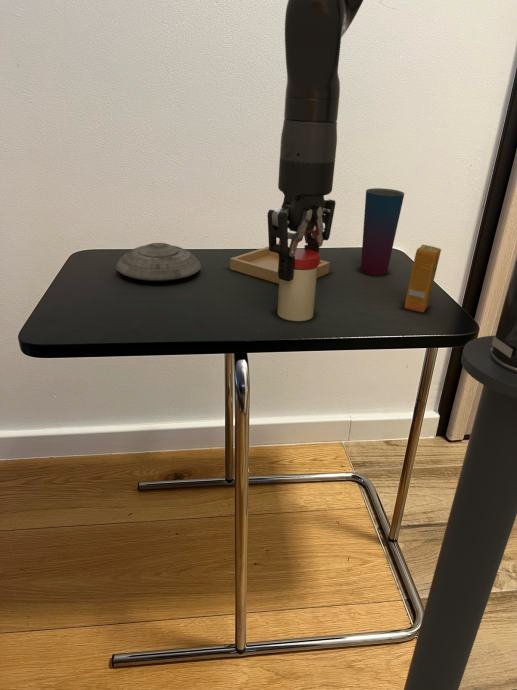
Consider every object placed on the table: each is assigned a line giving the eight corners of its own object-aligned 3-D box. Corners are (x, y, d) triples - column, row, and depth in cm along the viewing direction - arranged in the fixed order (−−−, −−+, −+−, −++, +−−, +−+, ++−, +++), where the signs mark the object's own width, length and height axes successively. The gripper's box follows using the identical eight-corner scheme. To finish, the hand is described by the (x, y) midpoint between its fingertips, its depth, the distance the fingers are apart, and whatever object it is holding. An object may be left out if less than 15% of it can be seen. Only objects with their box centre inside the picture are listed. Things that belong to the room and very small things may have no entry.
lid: (327, 263, 80) (327, 253, 80) (304, 272, 76) (305, 262, 76) (294, 254, 84) (294, 245, 83) (271, 262, 79) (271, 253, 79)
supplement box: (425, 313, 86) (437, 252, 82) (403, 308, 87) (414, 248, 83) (429, 307, 89) (441, 247, 84) (409, 302, 90) (419, 243, 86)
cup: (353, 274, 102) (363, 192, 96) (358, 264, 108) (368, 186, 101) (389, 279, 100) (402, 196, 94) (393, 268, 106) (405, 190, 100)
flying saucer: (189, 258, 107) (188, 230, 104) (211, 283, 94) (211, 252, 92) (111, 263, 102) (108, 235, 99) (123, 291, 89) (121, 259, 87)
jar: (320, 313, 84) (326, 256, 80) (300, 324, 80) (305, 264, 76) (290, 304, 87) (294, 248, 83) (269, 314, 83) (273, 256, 79)
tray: (328, 273, 102) (329, 262, 101) (293, 288, 94) (294, 276, 93) (267, 256, 110) (267, 246, 109) (229, 269, 102) (230, 258, 101)
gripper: (300, 164, 66) (290, 293, 74) (357, 155, 76) (344, 269, 84) (252, 157, 70) (248, 280, 78) (313, 149, 81) (304, 259, 88)
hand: (298, 274), depth 81 cm, fingers closed on lid, 5 cm apart
